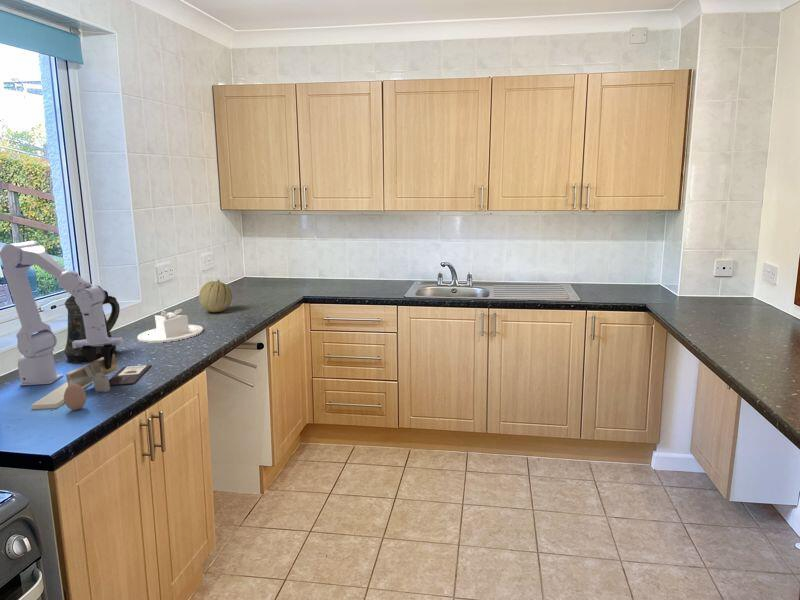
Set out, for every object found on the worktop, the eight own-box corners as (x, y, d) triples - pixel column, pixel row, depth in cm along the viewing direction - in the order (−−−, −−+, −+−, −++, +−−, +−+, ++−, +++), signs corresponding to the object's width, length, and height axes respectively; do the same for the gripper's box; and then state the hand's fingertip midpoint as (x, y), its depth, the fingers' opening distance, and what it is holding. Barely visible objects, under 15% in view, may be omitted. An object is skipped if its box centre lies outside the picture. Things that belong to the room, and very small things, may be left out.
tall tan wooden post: (69, 389, 170) (65, 373, 169) (113, 368, 185) (110, 353, 183) (74, 390, 170) (70, 374, 168) (118, 368, 184) (114, 354, 182)
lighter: (110, 389, 173) (106, 364, 172) (106, 391, 172) (102, 365, 170) (90, 388, 175) (86, 363, 173) (86, 390, 173) (82, 365, 172)
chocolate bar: (102, 385, 176) (123, 367, 193) (103, 388, 176) (123, 369, 193) (133, 383, 177) (151, 364, 194) (134, 385, 177) (151, 367, 194)
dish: (216, 330, 239) (212, 304, 236) (162, 347, 218) (158, 317, 216) (178, 325, 252) (175, 299, 250) (124, 340, 232) (120, 312, 229)
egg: (92, 405, 161) (87, 380, 160) (80, 413, 156) (76, 387, 155) (73, 405, 162) (69, 380, 160) (61, 413, 156) (57, 387, 155)
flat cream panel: (31, 409, 161) (30, 405, 160) (69, 384, 180) (68, 380, 180) (57, 407, 161) (56, 403, 160) (92, 382, 180) (91, 379, 180)
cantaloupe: (194, 315, 268) (190, 283, 265) (210, 308, 282) (206, 277, 279) (224, 315, 265) (220, 283, 262) (238, 308, 279) (235, 277, 276)
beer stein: (55, 363, 203) (42, 293, 198) (91, 347, 222) (80, 283, 217) (98, 363, 201) (86, 292, 195) (131, 347, 219) (121, 281, 214)
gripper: (124, 321, 181) (131, 363, 183) (77, 324, 180) (84, 365, 183) (114, 327, 174) (121, 370, 177) (65, 329, 173) (73, 373, 176)
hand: (102, 368), depth 179 cm, fingers closed on tall tan wooden post, 3 cm apart
